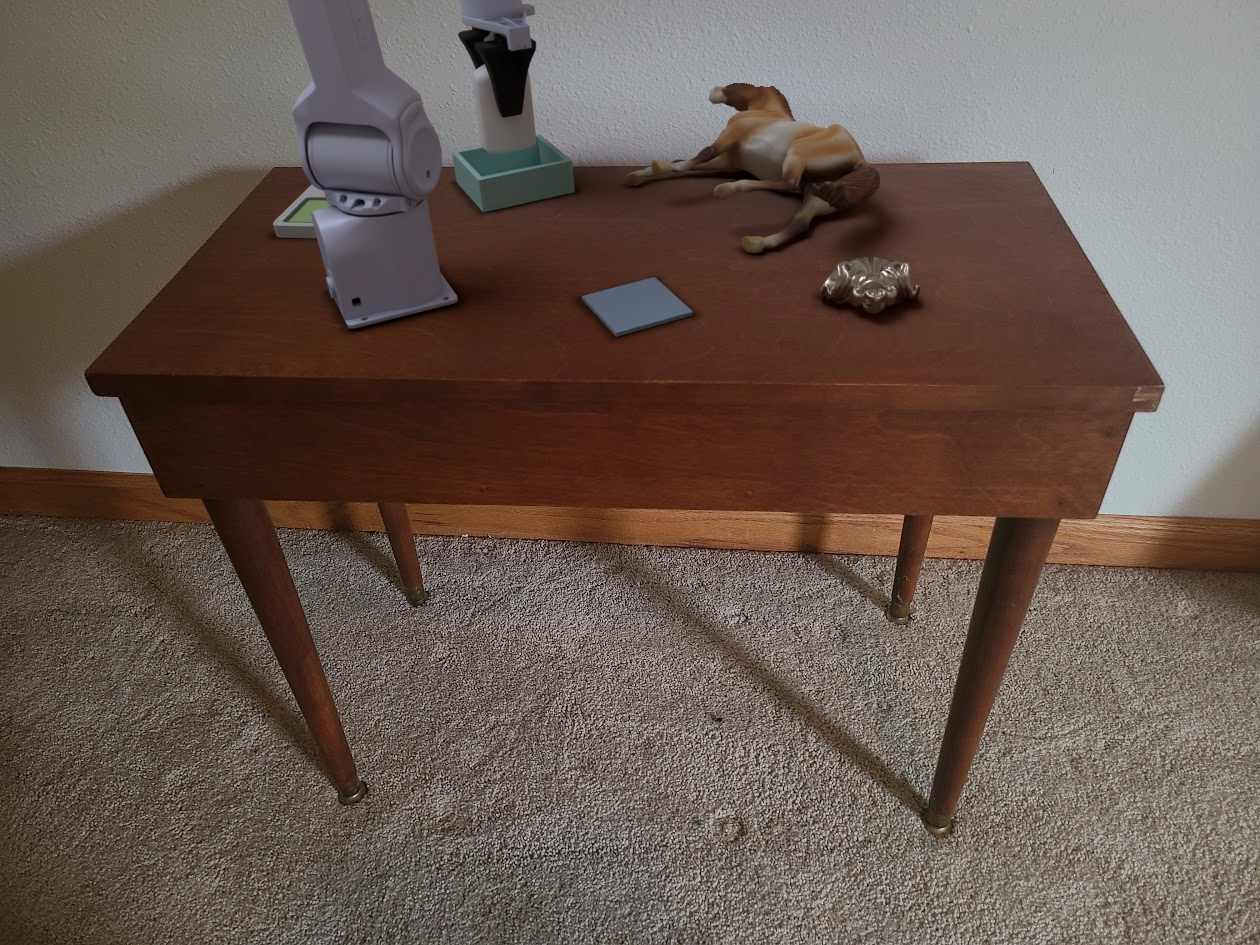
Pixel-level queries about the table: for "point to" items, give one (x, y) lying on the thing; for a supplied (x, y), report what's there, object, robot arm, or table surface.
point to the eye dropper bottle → (495, 128)
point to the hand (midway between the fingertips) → (505, 110)
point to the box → (513, 175)
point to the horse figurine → (779, 159)
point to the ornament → (869, 283)
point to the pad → (636, 306)
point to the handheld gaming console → (300, 215)
